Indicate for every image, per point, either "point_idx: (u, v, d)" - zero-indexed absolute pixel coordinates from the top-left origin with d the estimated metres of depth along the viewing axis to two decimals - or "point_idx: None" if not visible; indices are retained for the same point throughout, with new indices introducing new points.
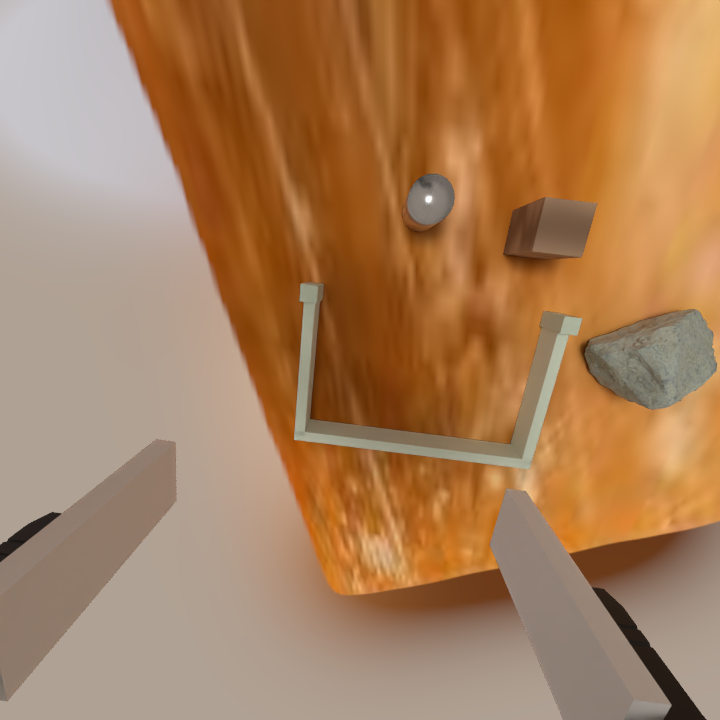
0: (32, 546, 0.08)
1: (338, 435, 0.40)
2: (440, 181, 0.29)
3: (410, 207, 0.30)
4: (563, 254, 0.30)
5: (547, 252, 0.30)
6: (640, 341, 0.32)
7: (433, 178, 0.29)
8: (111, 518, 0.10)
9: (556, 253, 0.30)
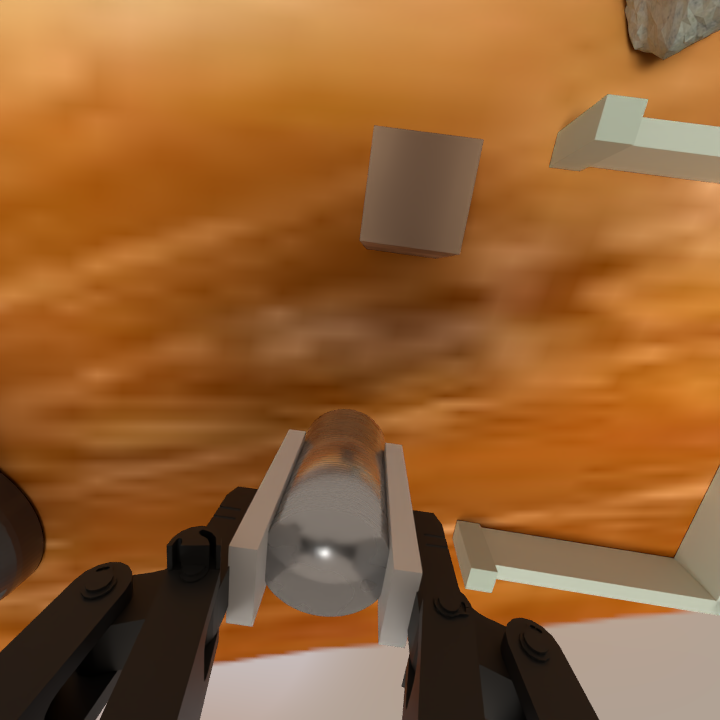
0: (256, 508, 0.10)
1: None
2: (278, 545, 0.10)
3: (346, 611, 0.11)
4: (472, 183, 0.14)
5: (464, 220, 0.14)
6: None
7: (271, 561, 0.10)
8: None
9: (468, 200, 0.14)
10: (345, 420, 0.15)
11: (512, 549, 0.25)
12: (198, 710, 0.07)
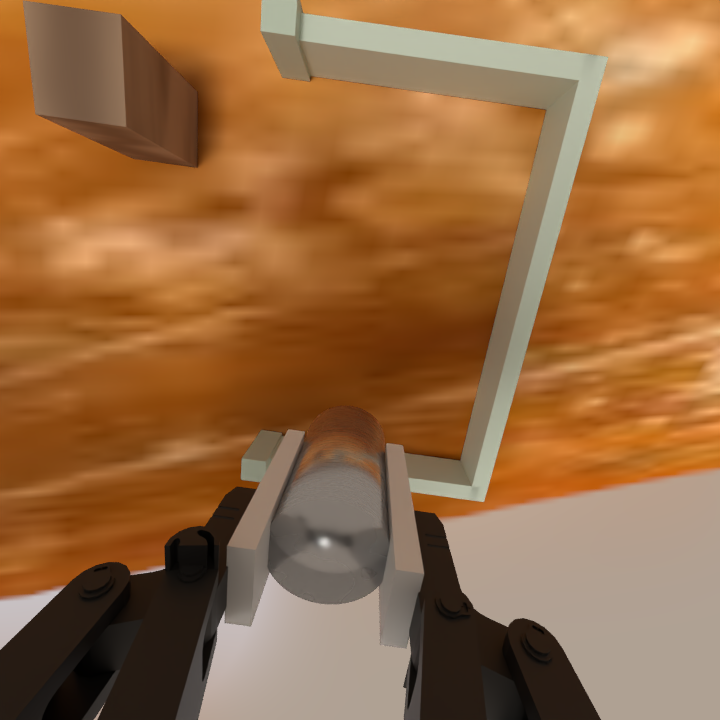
0: (255, 509, 0.10)
1: (483, 437, 0.24)
2: (281, 534, 0.10)
3: (348, 598, 0.11)
4: (123, 58, 0.16)
5: (124, 94, 0.16)
6: None
7: (274, 550, 0.10)
8: None
9: (123, 74, 0.16)
10: (345, 416, 0.15)
11: None
12: (196, 710, 0.07)
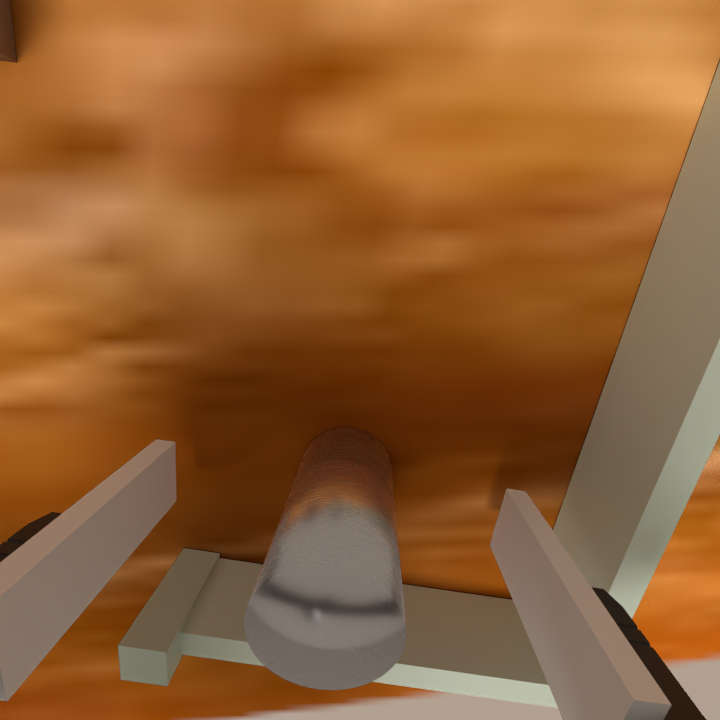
0: (32, 546, 0.08)
1: None
2: (266, 609, 0.08)
3: (352, 683, 0.09)
4: None
5: None
6: None
7: (258, 628, 0.08)
8: (111, 518, 0.10)
9: None
10: (346, 441, 0.13)
11: (246, 598, 0.15)
12: None
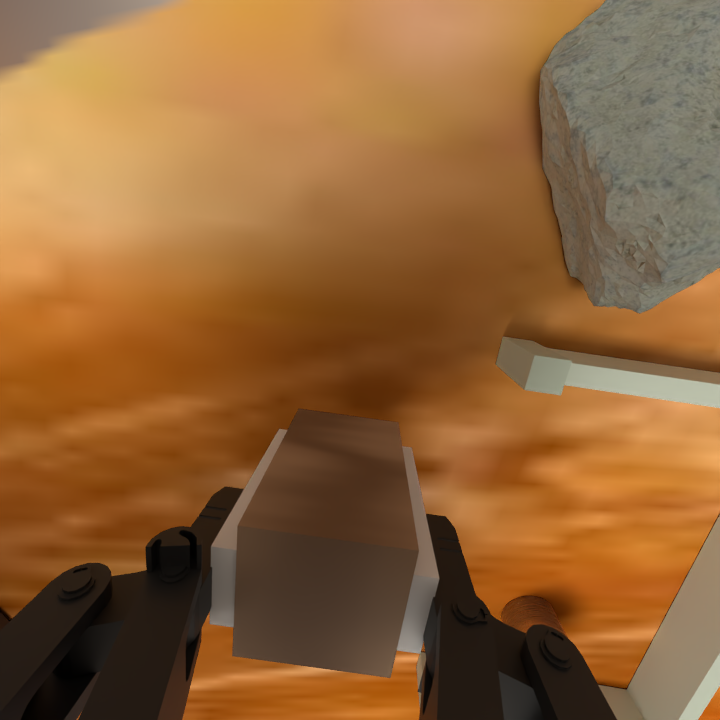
0: (241, 509, 0.10)
1: (680, 708, 0.23)
2: None
3: None
4: (404, 596, 0.09)
5: (395, 637, 0.09)
6: (632, 259, 0.12)
7: None
8: None
9: (400, 616, 0.09)
10: (539, 611, 0.24)
11: None
12: (180, 711, 0.07)
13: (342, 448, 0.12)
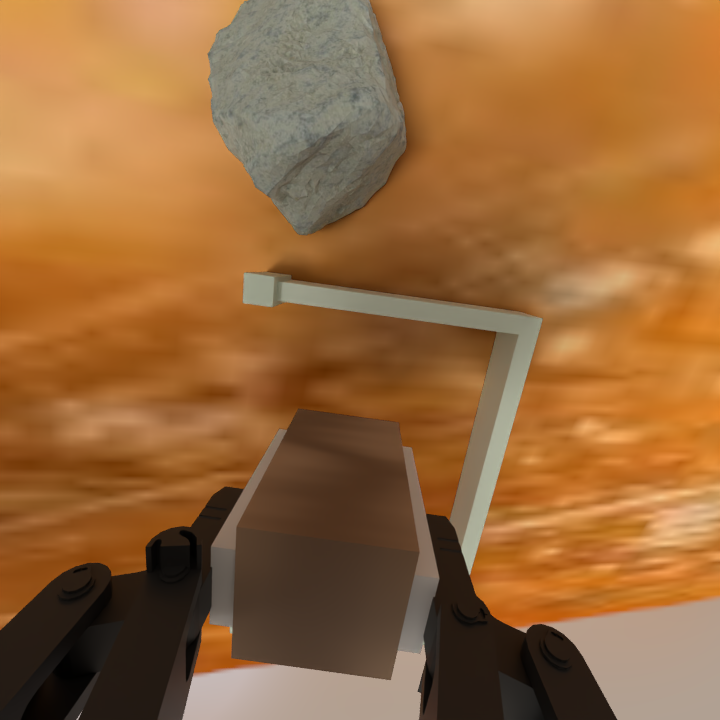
0: (241, 509, 0.10)
1: None
2: None
3: None
4: (405, 597, 0.09)
5: (396, 639, 0.09)
6: None
7: None
8: None
9: (400, 618, 0.09)
10: None
11: None
12: (180, 711, 0.07)
13: (342, 448, 0.12)
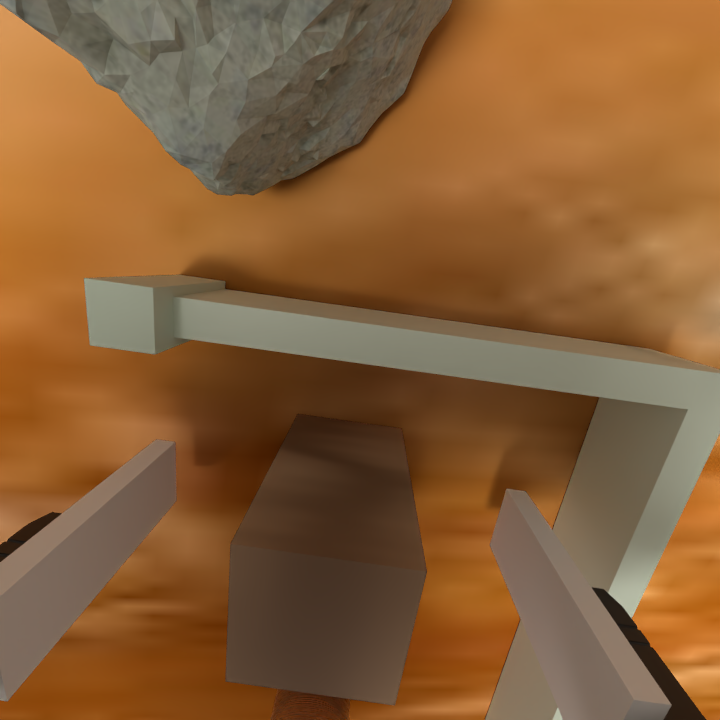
0: (32, 546, 0.08)
1: None
2: None
3: None
4: (410, 619, 0.08)
5: (400, 662, 0.08)
6: None
7: None
8: (111, 518, 0.10)
9: (406, 640, 0.08)
10: None
11: None
12: None
13: (343, 456, 0.12)
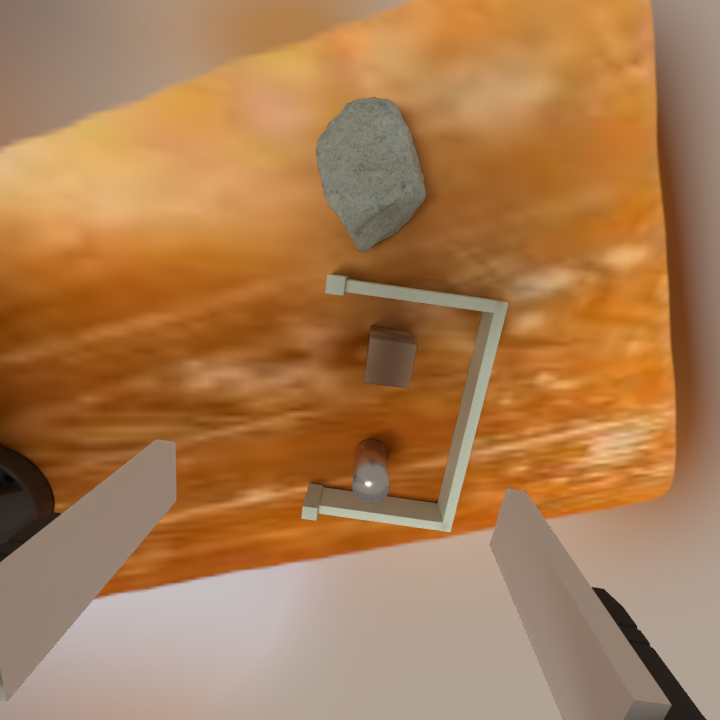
0: (32, 546, 0.08)
1: (449, 494, 0.40)
2: (357, 481, 0.36)
3: (376, 501, 0.36)
4: (413, 360, 0.32)
5: (410, 374, 0.33)
6: None
7: (355, 486, 0.36)
8: (111, 518, 0.10)
9: (412, 367, 0.32)
10: (371, 443, 0.41)
11: (336, 498, 0.43)
12: None
13: (391, 333, 0.36)
